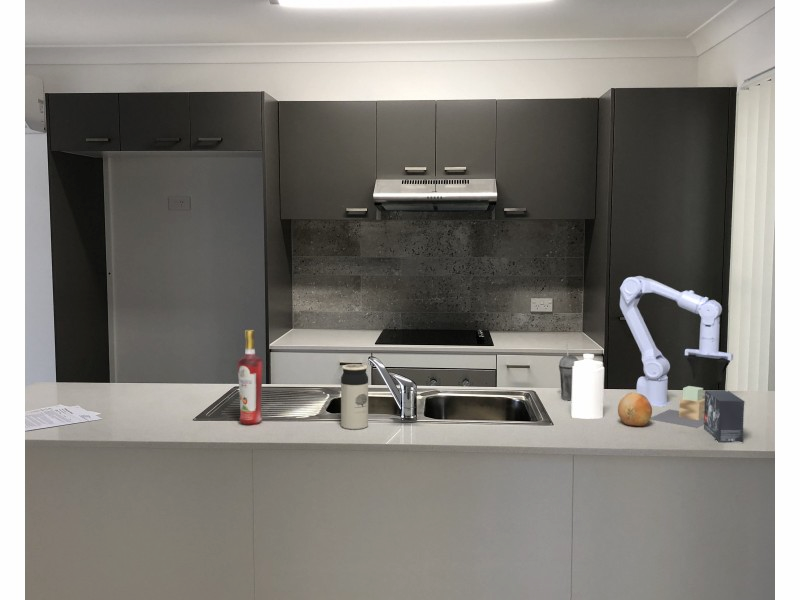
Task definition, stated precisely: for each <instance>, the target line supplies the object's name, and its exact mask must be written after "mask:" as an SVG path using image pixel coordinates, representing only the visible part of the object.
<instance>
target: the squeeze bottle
mask: <svg viewBox="0 0 800 600" xmlns="http://www.w3.org/2000/svg"><path fill="white" fill-rule="evenodd" d="M582 357H583V359H580V360H578V361H574V366H572V394H571V401H570V402H571V403H570V418H572V419H583V420H586V419H587V420H588V419H589V420H592V419H593V420H596V419H603V418H604V391H605V367H604V362H602V361H599V360H594V358H595V354H593V353H583V354H582Z"/></svg>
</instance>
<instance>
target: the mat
mask: <svg viewBox="0 0 800 600" xmlns="http://www.w3.org/2000/svg"><path fill="white" fill-rule="evenodd" d="M649 421H654V422H655V421H657V422H662V423H665V424H666V423H668V424H673V425H677V426H684V427H689V428H695V429H698V428H701V427H702V426H704V418H702V419H700V420H695V419H689V418H683V417H679V410H676V409H675V410H674V409H670V408H669V409H667V410H665V411H662V412H660V413H658V414H656V415H654V416H651V418H650V420H649Z"/></svg>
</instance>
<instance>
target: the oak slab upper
mask: <svg viewBox="0 0 800 600" xmlns="http://www.w3.org/2000/svg"><path fill="white" fill-rule="evenodd" d="M678 408H683V409H689V410H695V411H700V410H702V409H705V398H703V399H702V400H700V401H691V400H685V399H683V397H681V398H679V407H678Z"/></svg>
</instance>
